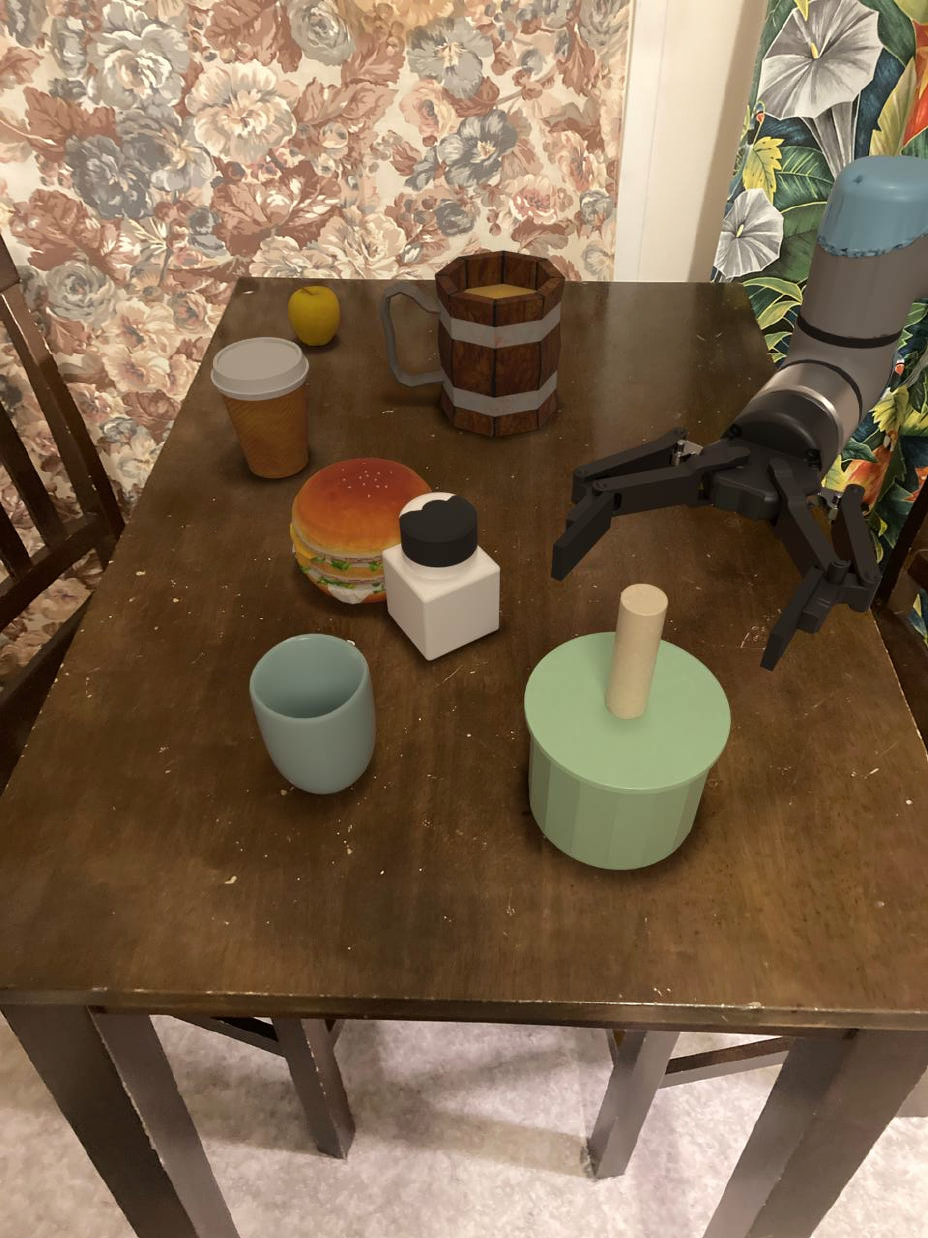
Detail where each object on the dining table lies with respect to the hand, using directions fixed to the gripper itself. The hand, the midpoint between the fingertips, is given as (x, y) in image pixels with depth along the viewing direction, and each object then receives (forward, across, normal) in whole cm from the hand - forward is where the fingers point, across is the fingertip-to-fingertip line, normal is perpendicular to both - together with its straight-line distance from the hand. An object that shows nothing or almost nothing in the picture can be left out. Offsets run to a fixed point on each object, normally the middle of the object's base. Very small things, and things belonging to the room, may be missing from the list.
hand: (657, 605), depth 50 cm
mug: (-37, +38, -17) cm, 56 cm away
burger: (-8, +30, -17) cm, 36 cm away
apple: (-38, +63, -17) cm, 76 cm away
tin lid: (+2, 0, -8) cm, 8 cm away
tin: (+2, 0, -17) cm, 17 cm away
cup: (+11, +18, -17) cm, 28 cm away
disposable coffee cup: (-16, +49, -17) cm, 54 cm away
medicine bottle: (-6, +20, -17) cm, 27 cm away
